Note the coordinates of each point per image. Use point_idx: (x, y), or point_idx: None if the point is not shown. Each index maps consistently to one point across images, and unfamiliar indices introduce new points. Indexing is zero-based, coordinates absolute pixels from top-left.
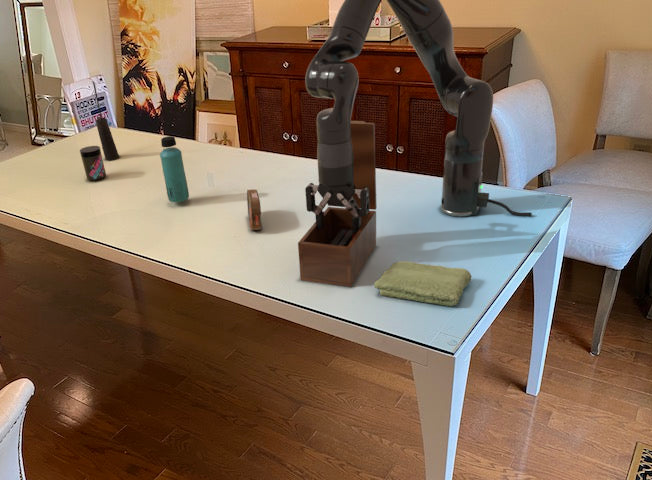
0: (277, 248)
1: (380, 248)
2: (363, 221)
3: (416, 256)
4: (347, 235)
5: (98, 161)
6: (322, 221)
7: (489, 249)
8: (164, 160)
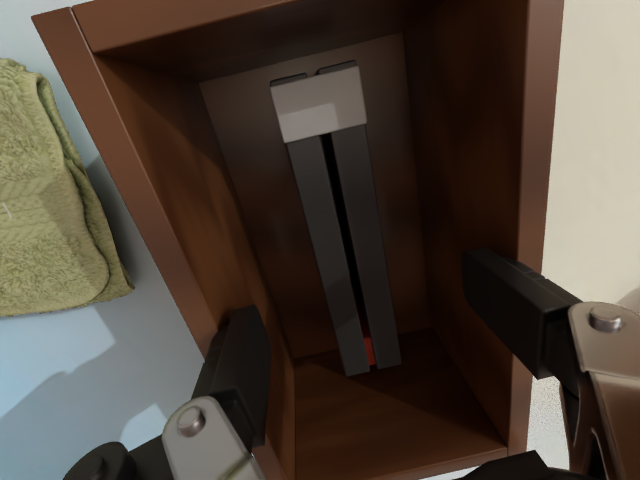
0: (600, 208)
1: None
2: (329, 433)
3: (141, 369)
4: (349, 332)
5: None
6: (493, 300)
7: (6, 474)
8: None
